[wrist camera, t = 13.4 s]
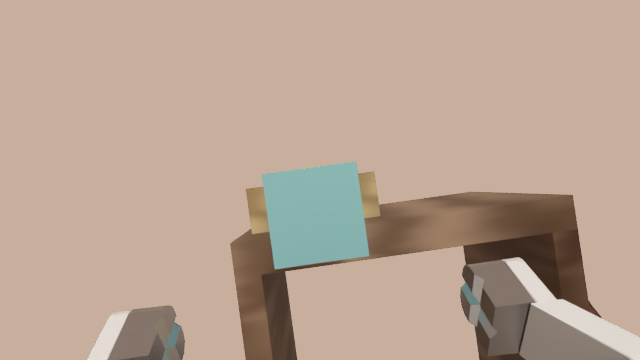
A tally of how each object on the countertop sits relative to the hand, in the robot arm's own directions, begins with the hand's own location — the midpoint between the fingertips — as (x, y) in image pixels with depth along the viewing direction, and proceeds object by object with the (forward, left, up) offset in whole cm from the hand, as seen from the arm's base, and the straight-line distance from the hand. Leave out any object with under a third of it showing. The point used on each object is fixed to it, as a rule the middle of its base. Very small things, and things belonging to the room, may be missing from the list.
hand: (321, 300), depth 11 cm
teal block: (0, -13, +1) cm, 13 cm away
